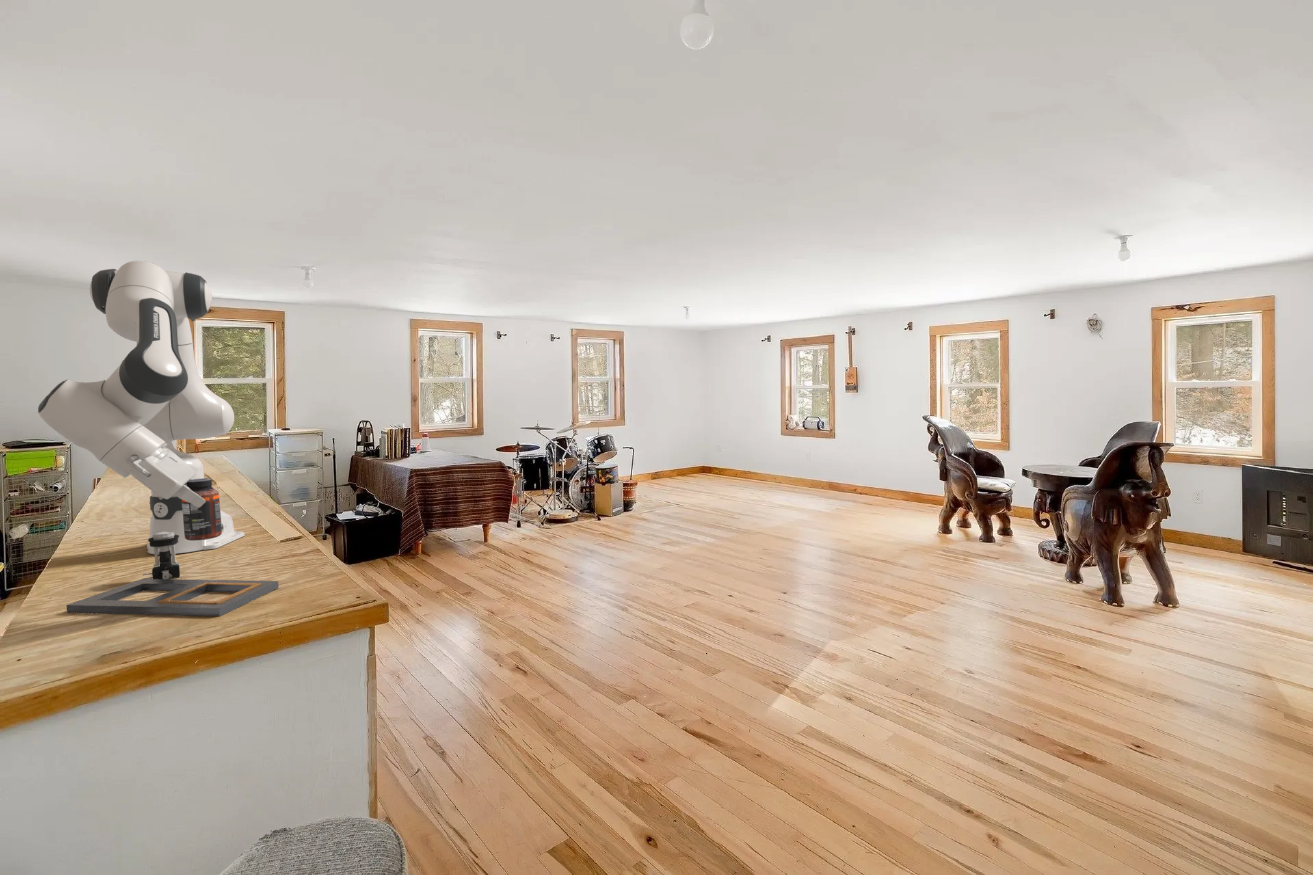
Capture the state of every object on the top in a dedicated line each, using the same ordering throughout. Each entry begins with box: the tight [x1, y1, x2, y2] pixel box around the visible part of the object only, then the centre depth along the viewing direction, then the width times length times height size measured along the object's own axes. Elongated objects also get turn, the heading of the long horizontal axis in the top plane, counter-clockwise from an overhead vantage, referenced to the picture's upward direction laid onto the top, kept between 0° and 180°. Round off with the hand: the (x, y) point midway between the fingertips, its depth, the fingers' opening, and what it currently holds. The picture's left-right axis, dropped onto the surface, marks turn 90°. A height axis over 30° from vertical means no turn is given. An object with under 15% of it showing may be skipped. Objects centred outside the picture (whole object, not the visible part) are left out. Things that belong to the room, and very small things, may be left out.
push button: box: [142, 531, 181, 579], centre depth 139 cm, size 7×5×10 cm
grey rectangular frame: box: [66, 578, 280, 617], centre depth 125 cm, size 16×30×2 cm, turn 85°
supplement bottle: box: [182, 477, 222, 541], centre depth 123 cm, size 6×6×11 cm
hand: (205, 501), depth 123 cm, fingers closed on supplement bottle, 6 cm apart
